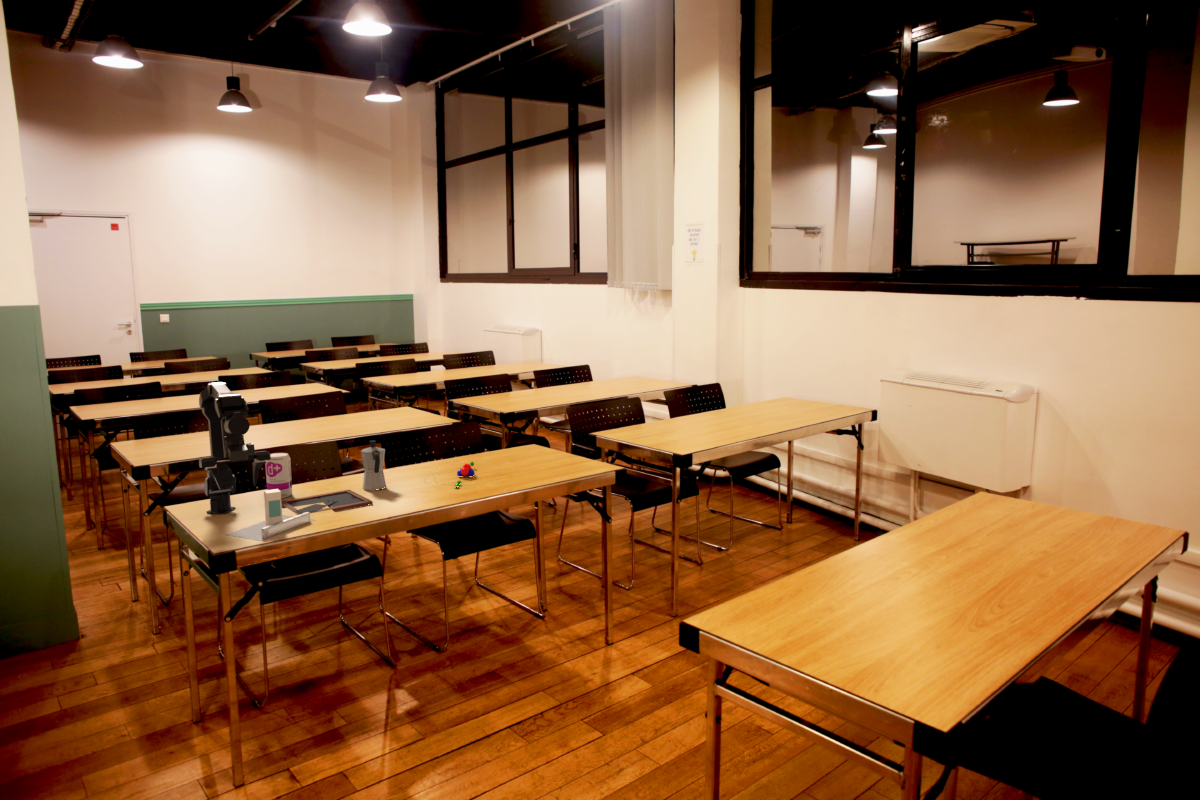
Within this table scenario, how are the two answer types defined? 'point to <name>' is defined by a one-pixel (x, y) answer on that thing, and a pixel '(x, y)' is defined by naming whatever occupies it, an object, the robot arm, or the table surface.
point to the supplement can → (279, 473)
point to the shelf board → (257, 530)
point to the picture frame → (327, 502)
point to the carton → (273, 506)
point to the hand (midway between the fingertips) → (238, 488)
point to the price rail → (285, 525)
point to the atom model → (463, 471)
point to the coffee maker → (373, 467)
